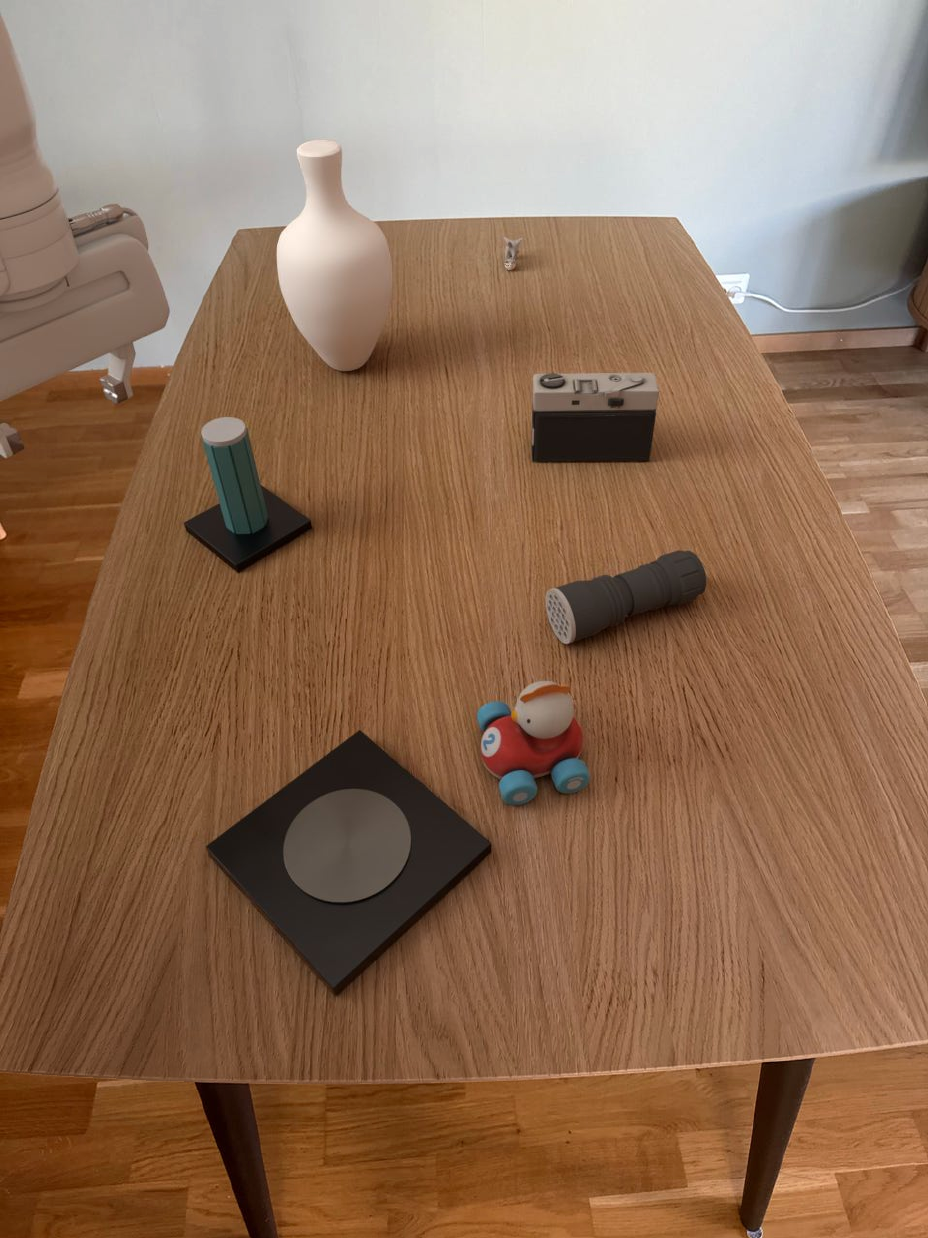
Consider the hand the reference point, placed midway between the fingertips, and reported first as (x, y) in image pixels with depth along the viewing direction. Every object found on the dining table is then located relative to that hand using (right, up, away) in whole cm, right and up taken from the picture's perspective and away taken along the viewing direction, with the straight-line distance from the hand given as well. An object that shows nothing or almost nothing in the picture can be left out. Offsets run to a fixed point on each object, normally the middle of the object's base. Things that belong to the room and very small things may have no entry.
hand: (67, 423), depth 69 cm
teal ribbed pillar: (+6, -4, +31) cm, 32 cm away
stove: (+21, -34, +3) cm, 40 cm away
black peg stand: (+6, -5, +32) cm, 33 cm away
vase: (+14, +20, +56) cm, 61 cm away
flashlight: (+46, -15, +21) cm, 53 cm away
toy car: (+36, -27, +10) cm, 46 cm away
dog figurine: (+38, +41, +76) cm, 94 cm away
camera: (+45, +6, +41) cm, 62 cm away
